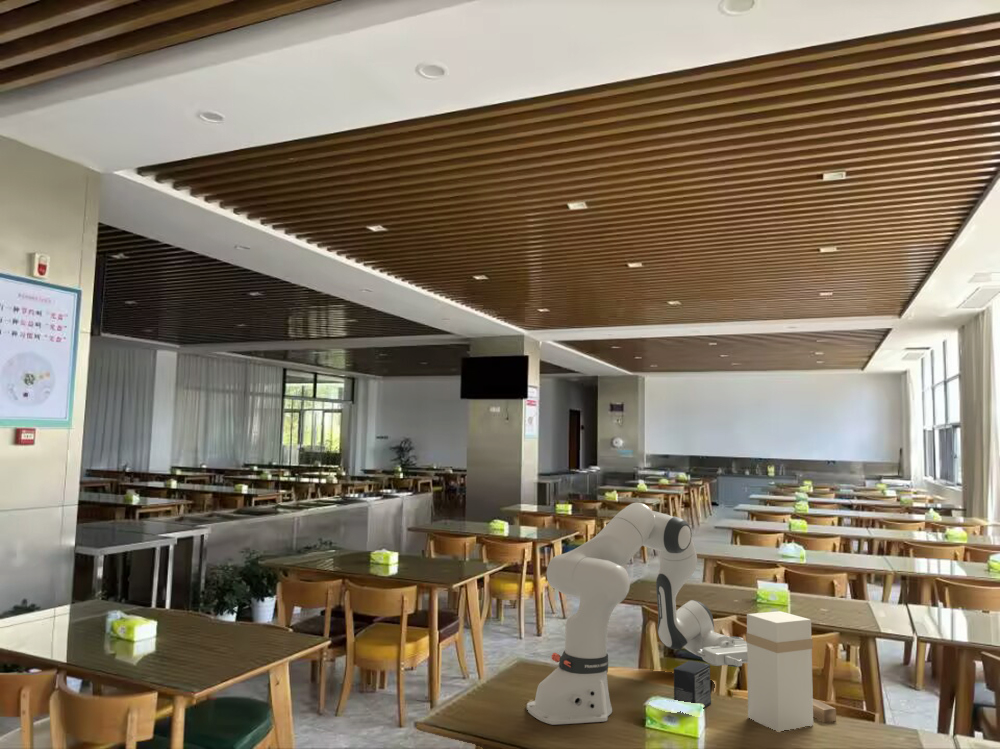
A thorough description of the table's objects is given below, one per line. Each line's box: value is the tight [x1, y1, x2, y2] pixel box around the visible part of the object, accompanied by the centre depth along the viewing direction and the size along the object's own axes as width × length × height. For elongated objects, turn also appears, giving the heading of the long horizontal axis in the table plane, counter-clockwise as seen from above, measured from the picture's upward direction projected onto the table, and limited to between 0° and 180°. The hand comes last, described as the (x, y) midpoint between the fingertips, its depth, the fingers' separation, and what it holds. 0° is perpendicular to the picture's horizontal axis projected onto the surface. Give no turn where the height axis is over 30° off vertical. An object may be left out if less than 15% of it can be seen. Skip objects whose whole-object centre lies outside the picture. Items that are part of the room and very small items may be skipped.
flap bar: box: [813, 698, 837, 723], centre depth 186 cm, size 4×19×4 cm, turn 20°
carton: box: [745, 610, 814, 733], centre depth 177 cm, size 12×10×26 cm
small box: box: [673, 660, 712, 708], centre depth 186 cm, size 11×6×10 cm, turn 141°
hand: (752, 662), depth 203 cm, fingers open, 8 cm apart
